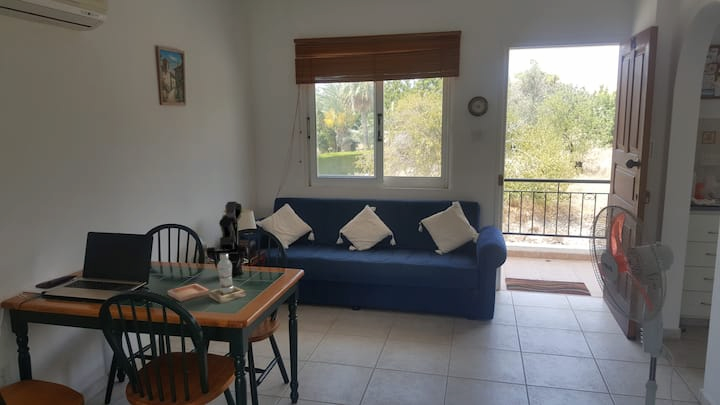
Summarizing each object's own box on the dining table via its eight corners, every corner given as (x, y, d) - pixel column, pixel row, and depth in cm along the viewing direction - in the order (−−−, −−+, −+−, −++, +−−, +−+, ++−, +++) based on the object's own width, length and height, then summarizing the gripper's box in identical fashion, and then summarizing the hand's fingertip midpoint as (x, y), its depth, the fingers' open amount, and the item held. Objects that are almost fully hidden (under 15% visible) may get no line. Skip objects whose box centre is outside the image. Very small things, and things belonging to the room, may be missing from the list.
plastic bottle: (237, 296, 223) (234, 253, 220) (223, 299, 218) (220, 256, 215) (230, 292, 228) (227, 251, 224) (216, 296, 223) (213, 254, 220)
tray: (196, 287, 237) (196, 283, 236) (209, 294, 227) (209, 289, 226) (167, 294, 227) (167, 290, 227) (180, 301, 217) (180, 297, 217)
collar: (232, 290, 231) (232, 285, 231) (245, 296, 223) (245, 290, 222) (208, 296, 223) (208, 291, 223) (221, 303, 215) (221, 297, 214)
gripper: (205, 230, 227) (202, 259, 218) (246, 228, 229) (245, 257, 220) (209, 243, 236) (206, 271, 227) (248, 241, 238) (247, 269, 229)
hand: (226, 267), depth 225 cm, fingers open, 9 cm apart
